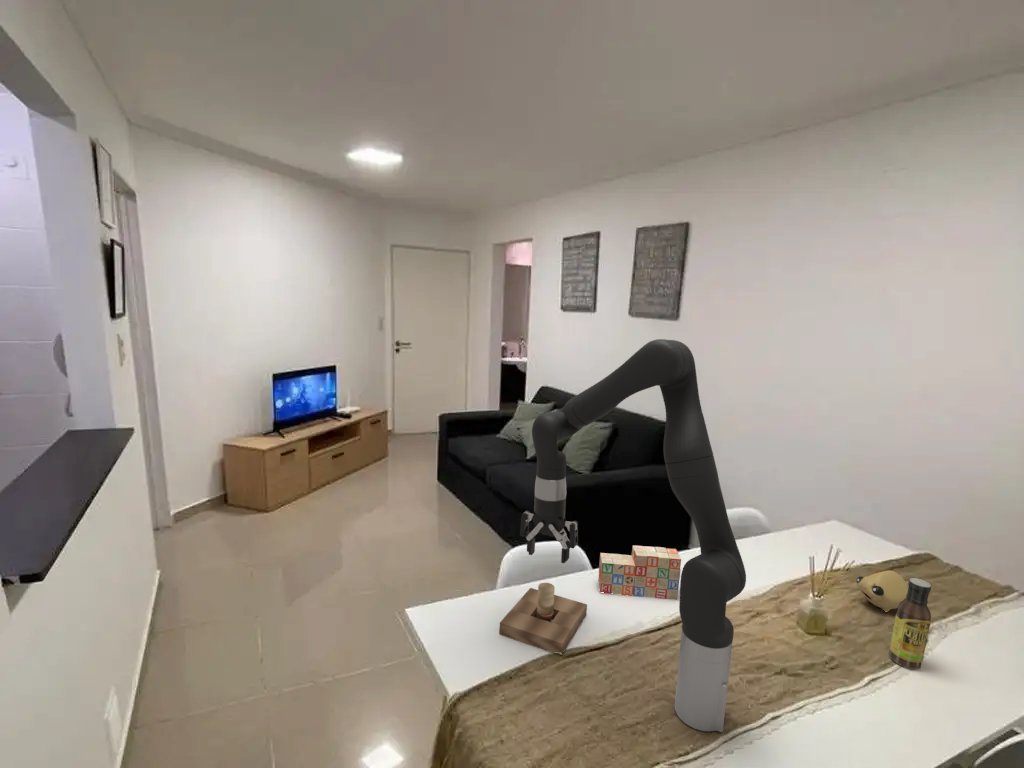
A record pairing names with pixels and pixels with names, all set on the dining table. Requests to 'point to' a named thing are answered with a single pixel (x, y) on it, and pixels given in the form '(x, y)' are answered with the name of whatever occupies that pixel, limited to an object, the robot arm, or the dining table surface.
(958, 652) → the dining table surface
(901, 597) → the tan toy head
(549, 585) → the peg
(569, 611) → the board
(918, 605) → the sauce bottle
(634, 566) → the stack of blocks
